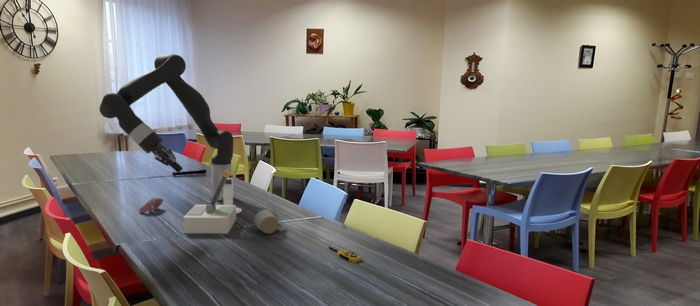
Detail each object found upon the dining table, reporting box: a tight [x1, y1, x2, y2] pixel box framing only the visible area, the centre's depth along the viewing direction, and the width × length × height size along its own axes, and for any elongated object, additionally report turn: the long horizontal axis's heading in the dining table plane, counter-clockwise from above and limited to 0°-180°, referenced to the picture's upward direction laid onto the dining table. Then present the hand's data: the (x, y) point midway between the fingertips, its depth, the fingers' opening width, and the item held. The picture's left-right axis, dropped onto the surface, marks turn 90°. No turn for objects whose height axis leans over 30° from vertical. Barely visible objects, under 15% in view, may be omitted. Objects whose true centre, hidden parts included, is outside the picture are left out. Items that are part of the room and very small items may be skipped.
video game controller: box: [138, 197, 164, 214], centre depth 186 cm, size 10×5×7 cm, turn 169°
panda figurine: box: [221, 174, 242, 215], centre depth 190 cm, size 12×11×15 cm
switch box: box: [182, 200, 237, 234], centre depth 169 cm, size 16×18×9 cm
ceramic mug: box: [253, 209, 285, 235], centre depth 166 cm, size 11×8×8 cm
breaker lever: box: [210, 170, 232, 209], centre depth 168 cm, size 2×4×17 cm, turn 6°
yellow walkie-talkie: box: [328, 246, 362, 263], centre depth 145 cm, size 5×2×15 cm
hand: (180, 170), depth 166 cm, fingers closed
